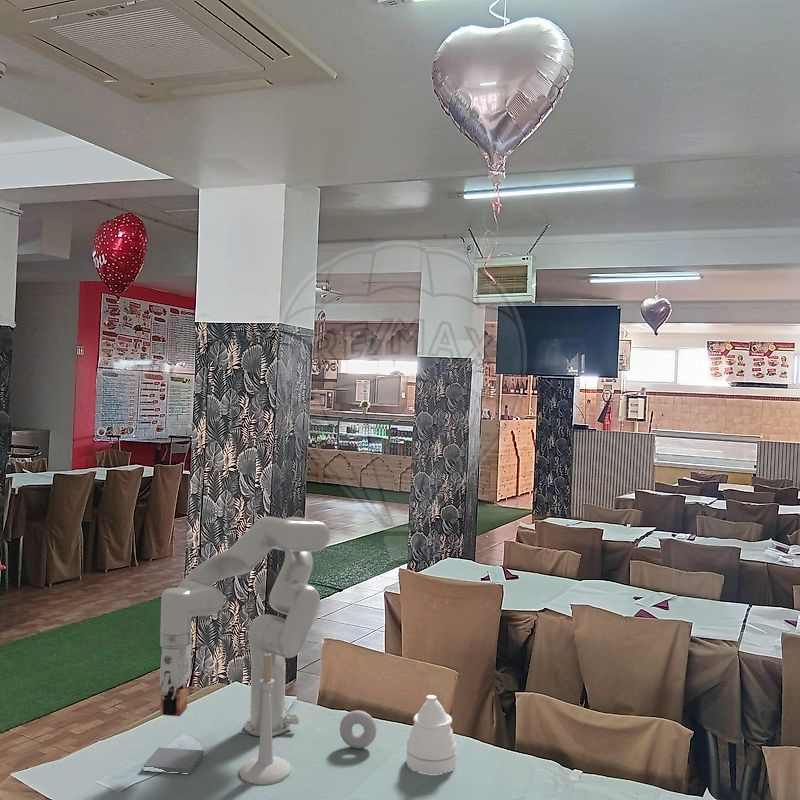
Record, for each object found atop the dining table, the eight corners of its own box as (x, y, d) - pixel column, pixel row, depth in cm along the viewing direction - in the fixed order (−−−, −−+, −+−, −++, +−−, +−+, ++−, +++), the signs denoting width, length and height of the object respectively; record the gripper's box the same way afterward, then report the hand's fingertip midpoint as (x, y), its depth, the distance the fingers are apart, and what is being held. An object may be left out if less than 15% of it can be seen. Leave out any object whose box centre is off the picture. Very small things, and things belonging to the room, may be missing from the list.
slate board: (203, 756, 205) (203, 750, 205) (189, 774, 196) (189, 768, 196) (158, 753, 207) (158, 747, 206) (142, 771, 197) (142, 765, 197)
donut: (377, 746, 213) (377, 709, 213) (375, 752, 210) (375, 714, 210) (340, 743, 214) (341, 706, 214) (337, 749, 211) (338, 712, 211)
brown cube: (186, 708, 203) (187, 689, 203) (179, 716, 198) (180, 696, 198) (167, 707, 203) (168, 687, 203) (160, 715, 198) (160, 695, 198)
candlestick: (241, 787, 190) (243, 663, 190) (237, 762, 202) (239, 645, 202) (294, 781, 193) (296, 659, 193) (287, 757, 206) (289, 642, 205)
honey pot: (452, 778, 197) (454, 706, 196) (401, 772, 199) (403, 701, 199) (459, 754, 209) (460, 687, 209) (411, 749, 212) (412, 682, 212)
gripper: (177, 649, 192) (175, 724, 192) (201, 629, 209) (199, 697, 209) (147, 648, 192) (145, 722, 192) (173, 627, 209) (172, 696, 209)
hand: (173, 709), depth 201 cm, fingers closed on brown cube, 5 cm apart
